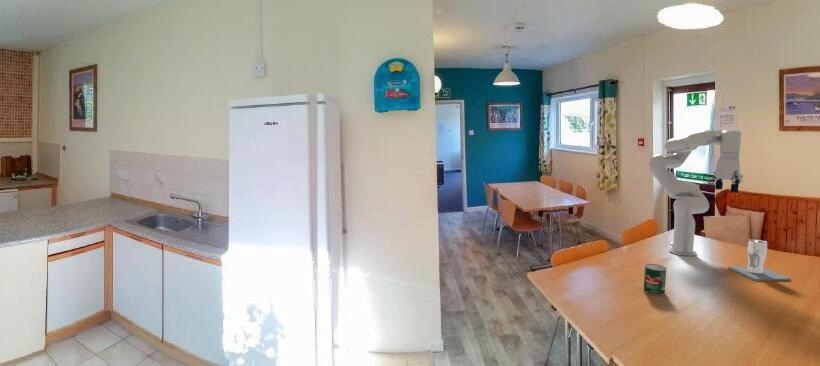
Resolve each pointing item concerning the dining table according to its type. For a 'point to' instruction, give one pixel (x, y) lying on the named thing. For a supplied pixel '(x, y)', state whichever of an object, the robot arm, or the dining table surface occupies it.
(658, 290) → the canned tomato
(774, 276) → the grey mat
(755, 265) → the beer glass
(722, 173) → the robot arm
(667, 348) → the dining table surface
